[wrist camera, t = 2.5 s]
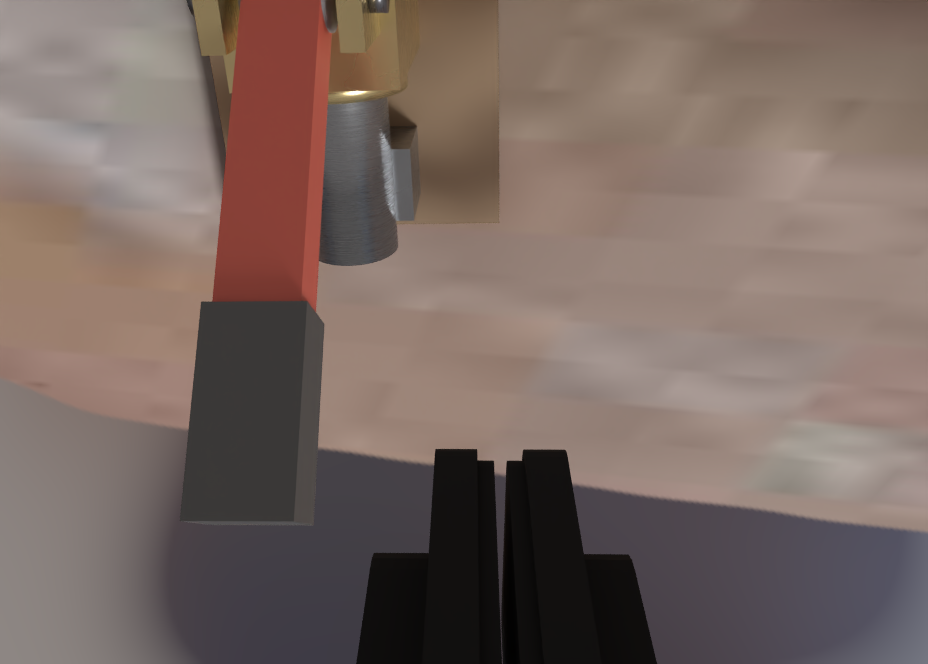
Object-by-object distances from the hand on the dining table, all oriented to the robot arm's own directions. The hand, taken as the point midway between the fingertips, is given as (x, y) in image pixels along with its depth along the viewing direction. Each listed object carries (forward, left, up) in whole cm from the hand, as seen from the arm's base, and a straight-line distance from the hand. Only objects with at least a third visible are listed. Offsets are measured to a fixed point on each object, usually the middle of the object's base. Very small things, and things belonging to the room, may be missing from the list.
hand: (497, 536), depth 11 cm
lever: (+5, +3, -13) cm, 14 cm away
